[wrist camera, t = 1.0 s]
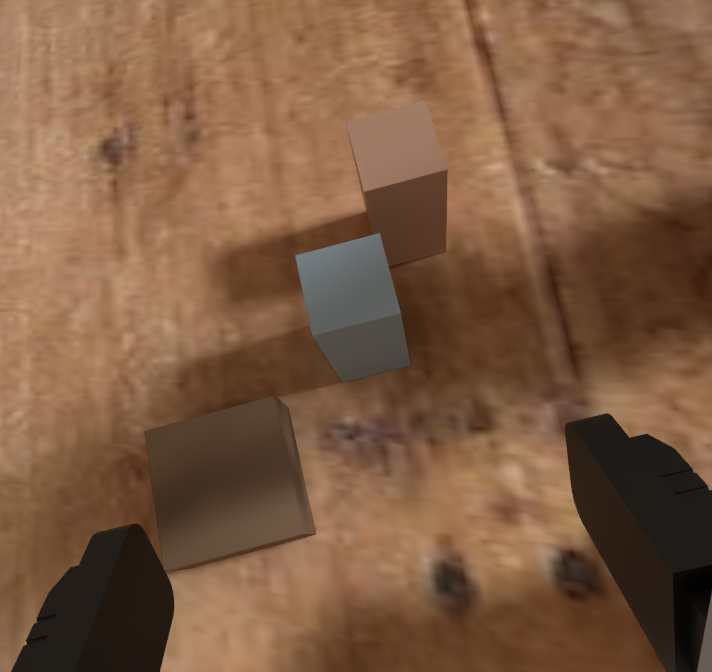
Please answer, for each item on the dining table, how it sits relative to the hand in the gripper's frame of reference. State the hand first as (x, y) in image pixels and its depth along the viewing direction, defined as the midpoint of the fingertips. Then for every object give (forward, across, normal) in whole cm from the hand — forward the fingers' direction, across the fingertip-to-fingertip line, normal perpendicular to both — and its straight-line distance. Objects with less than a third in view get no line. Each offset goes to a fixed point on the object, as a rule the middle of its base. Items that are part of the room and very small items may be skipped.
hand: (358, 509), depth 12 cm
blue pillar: (+28, 0, +10) cm, 29 cm away
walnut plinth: (+23, +10, +16) cm, 29 cm away
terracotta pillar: (+33, -4, +5) cm, 33 cm away
